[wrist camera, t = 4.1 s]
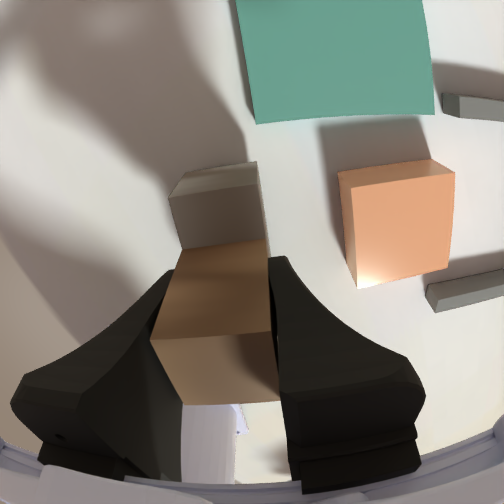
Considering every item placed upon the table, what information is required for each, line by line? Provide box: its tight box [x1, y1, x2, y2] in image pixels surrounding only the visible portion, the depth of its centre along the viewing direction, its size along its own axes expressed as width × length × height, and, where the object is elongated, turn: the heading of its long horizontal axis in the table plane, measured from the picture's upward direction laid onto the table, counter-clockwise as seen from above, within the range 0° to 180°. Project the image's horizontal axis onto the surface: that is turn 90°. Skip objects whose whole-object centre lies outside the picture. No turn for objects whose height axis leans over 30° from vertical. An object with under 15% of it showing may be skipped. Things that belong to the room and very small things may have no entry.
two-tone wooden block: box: [150, 161, 281, 405], centre depth 11 cm, size 3×7×8 cm, turn 9°
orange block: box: [337, 159, 455, 289], centre depth 14 cm, size 5×5×2 cm
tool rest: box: [235, 0, 435, 125], centre depth 10 cm, size 8×10×1 cm
